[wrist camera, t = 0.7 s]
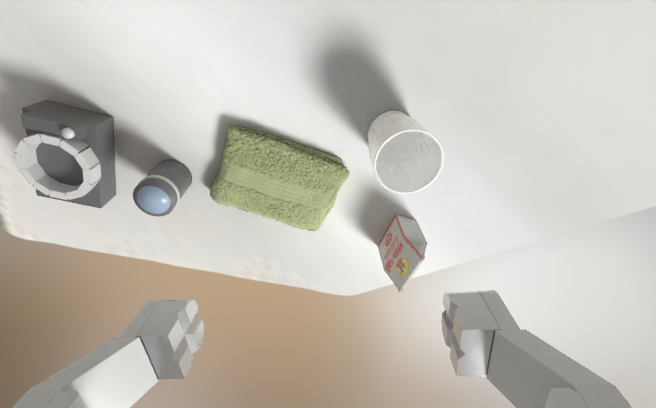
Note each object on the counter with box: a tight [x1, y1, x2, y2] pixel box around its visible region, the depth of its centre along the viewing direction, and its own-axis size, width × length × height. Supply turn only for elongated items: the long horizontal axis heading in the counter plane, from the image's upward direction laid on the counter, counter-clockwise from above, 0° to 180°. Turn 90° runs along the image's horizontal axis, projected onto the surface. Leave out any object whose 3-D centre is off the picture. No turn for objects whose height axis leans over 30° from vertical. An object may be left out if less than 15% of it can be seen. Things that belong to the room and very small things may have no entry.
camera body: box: [14, 100, 116, 208], centre depth 43 cm, size 12×8×6 cm
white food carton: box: [378, 214, 427, 292], centre depth 51 cm, size 4×7×10 cm, turn 159°
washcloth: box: [210, 125, 349, 231], centre depth 48 cm, size 13×18×3 cm
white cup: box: [367, 111, 444, 194], centre depth 42 cm, size 8×8×10 cm
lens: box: [133, 160, 192, 216], centre depth 45 cm, size 5×5×7 cm
